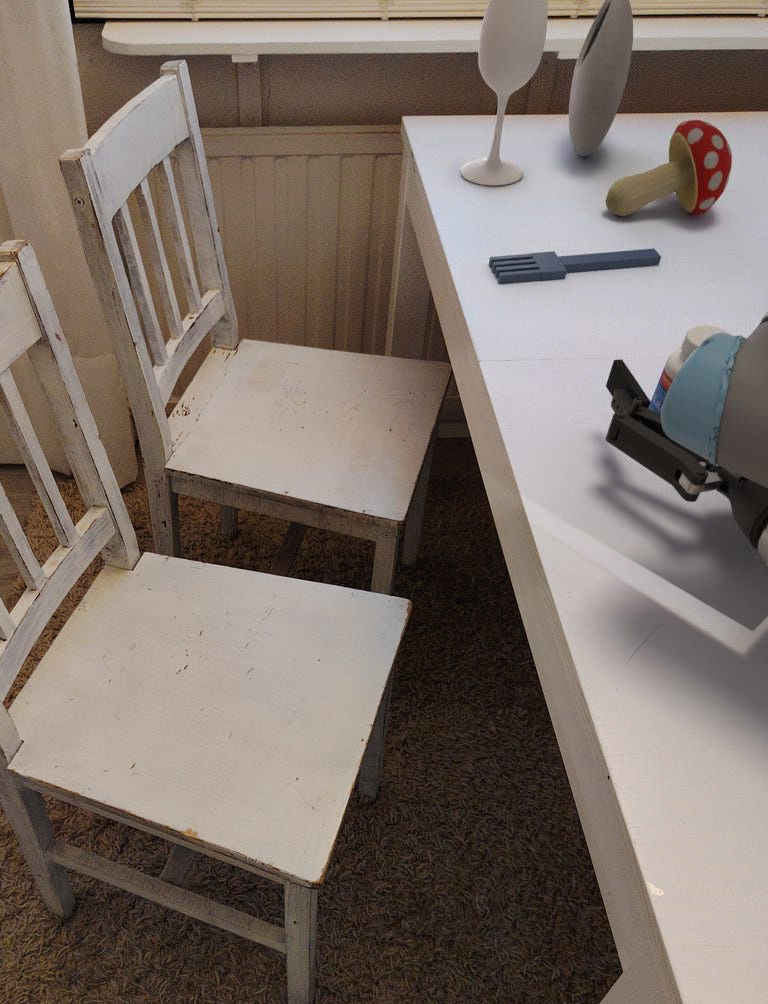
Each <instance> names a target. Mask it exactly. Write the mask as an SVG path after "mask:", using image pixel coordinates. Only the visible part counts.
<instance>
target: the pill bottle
mask: <svg viewBox="0 0 768 1004" xmlns="http://www.w3.org/2000/svg"><path fill="white" fill-rule="evenodd" d="M717 333H727V334H730V335H732V334H731V332H729V331H727V330H726V329H723V328H721V327H718V326H714V325H706V324H705V325H704V324H703V325H696V326H694V327H691V328H689V330H688V331H687V332H686V334H685V336H684V338H683V340H682V343H681V347H680V348H677V349H676V350H674V351H672V352H671V353H670V355H669V356H668V357H667V360H666V362H665V364H664V366H663V369H662V372H661V374H660V377H659V380H658V382H657V385H656V387H655V390H654V392H653V395H652V396H651V397H652V398H651V400H650V401H651V402H650V405H649V408H648V409H650V410H652V411H655V412H657V413H659V414H661V411H662V406H663V403H664V400H665V397H666V395H667V392H668V390H669V388H670V386H671V384H672V382H673V380H674V378H675V376H676V375H677V373H678V371H679V370H680V368H681V367H682V365H683V364H684V362H685V361H686V360H687V358H688V357H689V355H690V354H691V353H692V352H693V351H694V350H695V349H697V348H699V346H700V345H701V343H702V342H703V341H704V340H706V339H707V338H708V337H709V336H711V335H714V334H717Z"/></svg>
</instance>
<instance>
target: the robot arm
mask: <svg viewBox="0 0 768 1004" xmlns="http://www.w3.org/2000/svg"><path fill="white" fill-rule="evenodd" d="M730 334H731V333H730ZM730 334H727V333H717V334H714V335H711V336H709V337H708V338H707V339H706V340H704V341H703V342H702V343H701V345H700V346H699V348H697V349H695V350H694V351H693V352H692V353H691V354H690V355H689V357H688V358H687V360H686V361H685V362H684V364H683V365H682V367H681V368H680V370H679V371H678V373H677V375H676V376H675V378H674V380H673V382H672V384H671V386H670V388H669V390H668V392H667V395H666V397H665V400H664V403H663V406H662V411H661V414H659V413H657V412H655V411H652V410H650V409H648V408H649V405H650V403H651V400H650V398H649V396H648V395H647V394H646V392H645V391H644V389H643V388H642V386H641V385H640V384H639V382H638V380H637V379H636V378H635V376H634V375H633V373H632V372H631V370H630V369H629V367H628V365H627V364H626V362H625V361H624V360H623V359H622V358H620V359H613V362H612V365H611V368H610V371H609V375H608V378H607V380H606V384H605V388H606V389H607V391H608V392H609V394H610V396H611V397H612V398H611V401H610V407H611V409H612V410H613V412H614V413H613V414H612V418H611V420H610V424H609V426H608V430H607V433H606V436H605V441H606V442H607V443H608V444H609V445H611V446H613V447H614V448H616V449H617V450H619V451H620V452H622V453H623V454H624V455H626V456H628V457H629V458H630V459H632V460H634V461H635V462H637V463H638V464H639V465H641V466H643V467H644V468H646V469H647V470H648V471H650V472H652V473H653V474H654V475H656V476H657V477H659V478H660V479H662V480H664V482H667V483H668V484H669V485H671V487H673V489H674V490H675V491H676V492H677V494H678V495H679V496H680V497H681V499H682V500H684V501H686V502H689V503H694V502H696V501H697V500H698V499H699V497H700V495H701V493H705V492H710V491H717V492H718V493H720V494H721V495H723V496H724V497H726V498H727V499H728V500H729V503H730V507H731V512H732V516H733V519H734V521H735V523H736V524H737V526H738V527H739V529H740V530H741V531H742V533H743V535H744V536H745V537H746V539H747V540H748V542H749V543H750V545H751V546H752V547H753V548H754V549H755V550H756V551H757V552H758V555H759V556H760V558H761V559H762V561H763V563H764V564H765V565H766V567H767V568H768V310H767V311H766V312H765V314H764V315H763V316H762V318H761V320H760V322H759V324H758V325H757V327H756V328H755V329H754V330H753V331H752V332H751V334H750V335H749V336H748V337H747V338H746V337H744V336H743V335H741V334H740V335H733V334H731V335H730Z"/></svg>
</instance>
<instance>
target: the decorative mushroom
mask: <svg viewBox="0 0 768 1004" xmlns="http://www.w3.org/2000/svg"><path fill="white" fill-rule="evenodd" d="M732 162H733V153H732V149H731V146H730V144H729V142H728V139H727V138H726V137H725V135H724V134H723V132H722V131H721V130H720V129H718V128H717V127H716V126H715V125H714V124H711V123H710V122H708V121H704V120H700V119H692V120H691V119H690V120H684V121H682V122H681V123H680V124H678V125H677V126H676V128H675V130H674V132H673V133H672V135H671V138H670V140H669V147H668V162H666V163H663V164H660V165H658V166H656V167H654V168H653V169H650V170H647V171H645V172H642V173H637V174H632V175H627V176H624V177H622V178H620V179H618V180H615V182H613V184H612V185H611V186H610V188H609V189H608V191H607V194H606V197H605V205H606V208H607V210H608V211H609V212H611V213H612V215H614V216H619V217H625V216H629V215H632V214H634V213H636V212H637V211H638V210H640V209H642V208H643V207H645V206H646V205H648V204H650V203H652V202H654V201H656V200H659V199H661V198H666V197H668V196H670V195H672V194H674V193H675V196H676V198H677V200H678V202H679V204H680V206H681V207H682V208H683V210H684V211H685V212H687V213H689V214H690V215H704V214H705V213H706V212H708V211H710V209H711V208H712V207H713V206H714V205H715V203H716V202H717V201H718V200H719V198H720V197H721V196H722V195H723V194H724V192H725V190H726V188H727V186H728V184H729V179H730V176H731V171H732V165H733V163H732Z"/></svg>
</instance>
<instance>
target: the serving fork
mask: <svg viewBox="0 0 768 1004" xmlns="http://www.w3.org/2000/svg"><path fill="white" fill-rule="evenodd" d="M661 259H662V256H661V255H660V253H659V252H658V251H657V249H656V248H644V249H643V248H642V249H641V248H640V249H630V250H617V251H607V252H594V253H583V254H582V253H581V254H571V255H560V256H558V255H557V253H556V251H554V250H553V251H542V252H541V251H540V252H531V253H521V254H509V255H495V256H490V257H489V262H488V266H489V268H490V269H491V271H492V273H493V274H494V277H495V279H497V282H498V284H510V283H522V282H523V283H524V282H534V281H551V280H562V279H563V280H564V279H566V276H567V273H577V272H578V273H579V272H587V271H599V270H600V271H601V270H613V269H623V268H624V269H625V268H633V267H634V268H637V267H647V266H659V265H660V262H661Z"/></svg>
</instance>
